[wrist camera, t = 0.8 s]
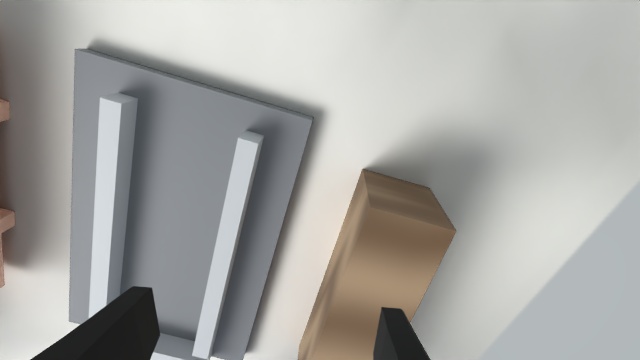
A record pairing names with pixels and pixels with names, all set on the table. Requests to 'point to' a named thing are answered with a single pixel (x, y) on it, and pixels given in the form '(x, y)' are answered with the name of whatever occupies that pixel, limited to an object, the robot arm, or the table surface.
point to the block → (3, 217)
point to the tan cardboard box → (376, 266)
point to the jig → (177, 201)
